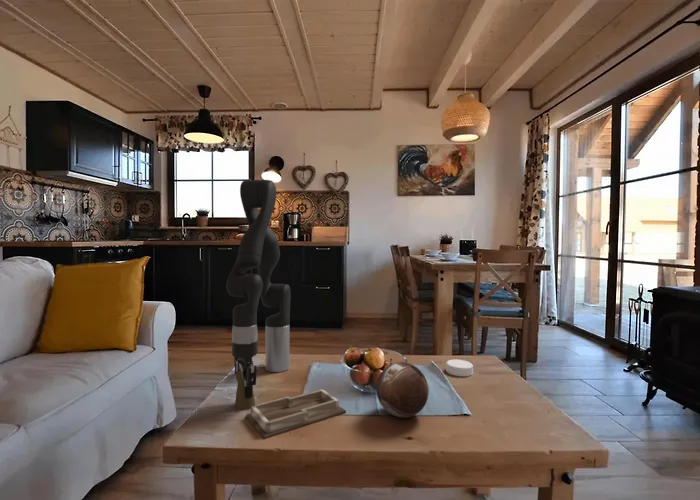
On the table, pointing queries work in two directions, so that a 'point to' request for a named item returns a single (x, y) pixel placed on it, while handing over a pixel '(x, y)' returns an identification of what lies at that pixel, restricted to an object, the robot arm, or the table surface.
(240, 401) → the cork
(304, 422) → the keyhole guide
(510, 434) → the table surface
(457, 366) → the white disc
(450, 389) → the table surface
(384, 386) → the wooden sphere
